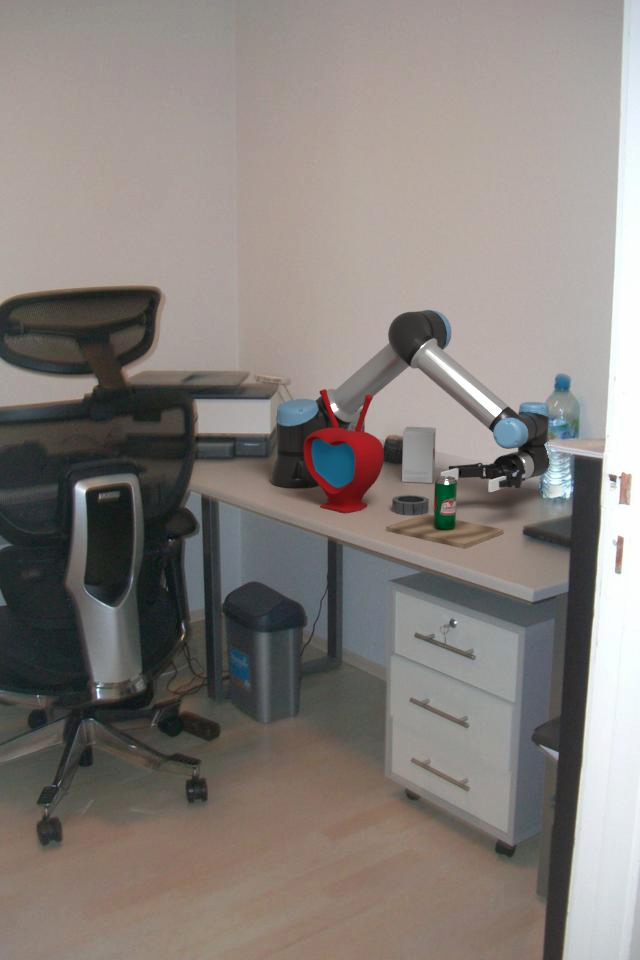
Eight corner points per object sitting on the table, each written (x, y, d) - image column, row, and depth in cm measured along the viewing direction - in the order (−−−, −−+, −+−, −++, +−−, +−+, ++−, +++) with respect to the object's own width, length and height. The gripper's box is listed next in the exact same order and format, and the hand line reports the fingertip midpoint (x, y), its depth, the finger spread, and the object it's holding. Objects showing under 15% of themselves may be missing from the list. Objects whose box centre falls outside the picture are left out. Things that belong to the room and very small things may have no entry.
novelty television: (299, 504, 249) (298, 390, 242) (333, 496, 258) (333, 385, 251) (358, 518, 234) (359, 397, 228) (392, 509, 243) (393, 392, 237)
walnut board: (386, 530, 224) (386, 526, 224) (425, 517, 235) (426, 513, 235) (465, 548, 209) (465, 544, 209) (503, 533, 221) (503, 529, 221)
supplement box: (432, 483, 272) (433, 432, 269) (401, 482, 274) (402, 431, 271) (435, 477, 281) (436, 427, 278) (405, 475, 283) (405, 426, 280)
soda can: (441, 531, 219) (443, 481, 216) (429, 526, 223) (430, 476, 221) (459, 529, 221) (461, 478, 219) (447, 524, 226) (448, 474, 223)
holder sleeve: (385, 511, 242) (385, 499, 241) (406, 504, 248) (406, 493, 248) (414, 517, 236) (414, 505, 235) (435, 510, 242) (435, 498, 242)
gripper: (556, 490, 234) (510, 505, 219) (470, 475, 250) (422, 489, 235) (557, 460, 232) (511, 474, 217) (471, 447, 249) (423, 459, 233)
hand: (465, 482), depth 226 cm, fingers open, 13 cm apart
